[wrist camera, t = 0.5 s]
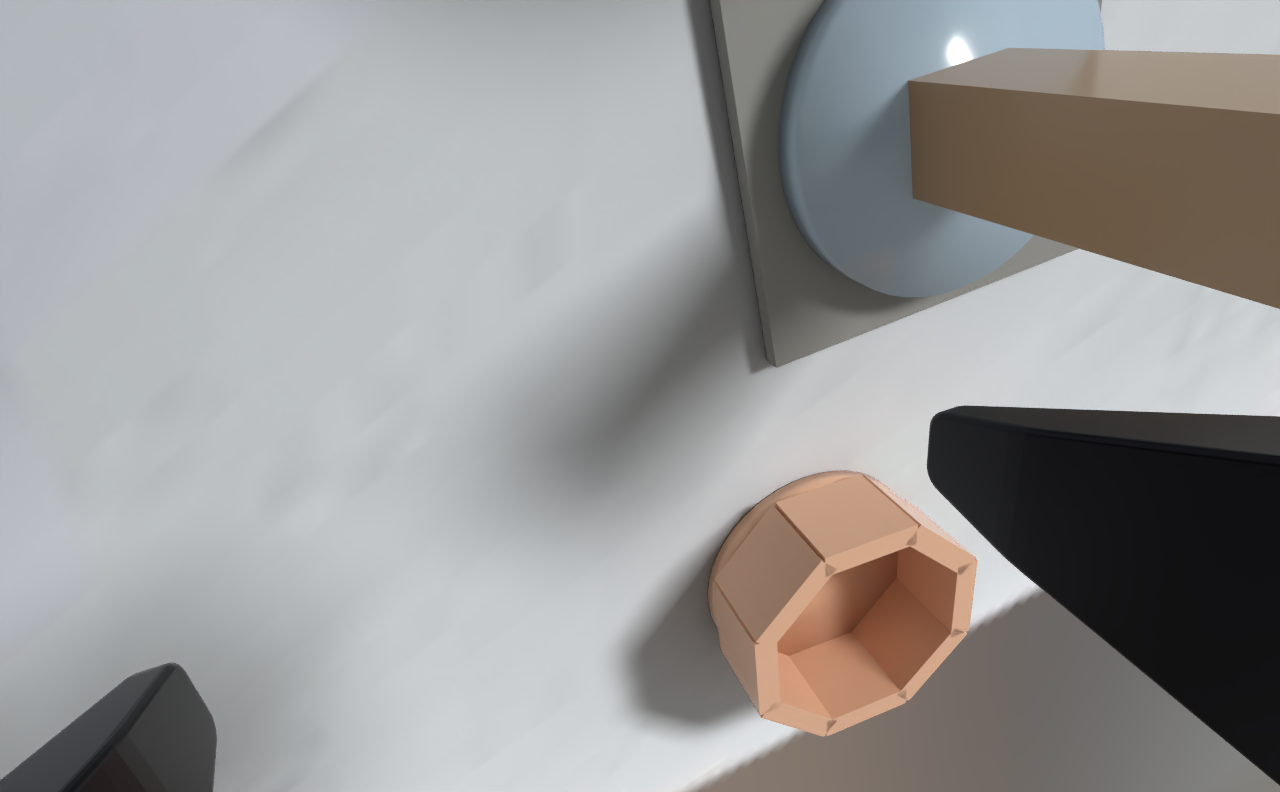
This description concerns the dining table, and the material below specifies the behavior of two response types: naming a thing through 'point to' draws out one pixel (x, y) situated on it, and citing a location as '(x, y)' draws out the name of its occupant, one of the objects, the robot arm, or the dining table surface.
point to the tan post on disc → (1025, 146)
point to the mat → (781, 258)
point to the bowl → (838, 601)
